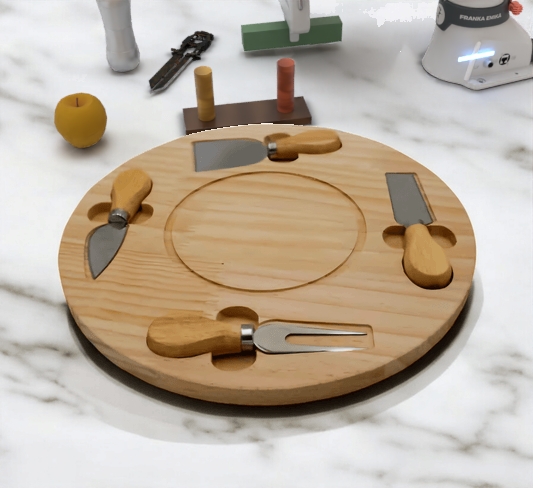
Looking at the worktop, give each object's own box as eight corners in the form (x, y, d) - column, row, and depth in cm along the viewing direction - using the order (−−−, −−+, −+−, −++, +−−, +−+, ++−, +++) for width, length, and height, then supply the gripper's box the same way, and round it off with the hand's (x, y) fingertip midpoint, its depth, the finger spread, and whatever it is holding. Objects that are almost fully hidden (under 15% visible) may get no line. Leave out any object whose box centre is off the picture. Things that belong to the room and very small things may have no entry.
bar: (337, 33, 135) (338, 15, 132) (341, 41, 132) (342, 22, 129) (242, 43, 133) (240, 24, 130) (244, 51, 131) (243, 32, 128)
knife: (157, 98, 121) (156, 91, 120) (128, 90, 123) (127, 84, 122) (222, 40, 138) (221, 34, 137) (195, 34, 140) (194, 28, 139)
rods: (303, 103, 120) (304, 50, 112) (311, 124, 115) (313, 70, 107) (183, 115, 117) (177, 62, 110) (186, 137, 112) (180, 83, 105)
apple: (87, 164, 107) (75, 118, 101) (50, 148, 110) (36, 103, 104) (121, 138, 112) (112, 93, 106) (85, 124, 115) (74, 79, 109)
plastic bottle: (102, 72, 128) (81, -30, 115) (120, 56, 133) (102, -44, 119) (130, 78, 127) (112, -25, 113) (148, 62, 131) (132, -39, 117)
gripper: (319, -15, 115) (317, 57, 124) (297, -56, 129) (297, 11, 139) (283, -11, 114) (285, 61, 124) (266, -53, 129) (268, 14, 138)
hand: (291, 34), depth 131 cm, fingers closed on bar, 3 cm apart
